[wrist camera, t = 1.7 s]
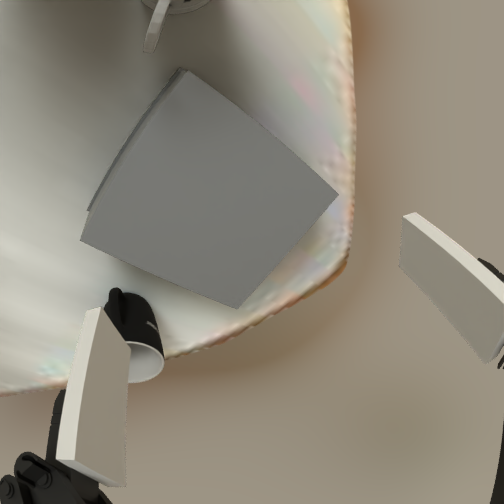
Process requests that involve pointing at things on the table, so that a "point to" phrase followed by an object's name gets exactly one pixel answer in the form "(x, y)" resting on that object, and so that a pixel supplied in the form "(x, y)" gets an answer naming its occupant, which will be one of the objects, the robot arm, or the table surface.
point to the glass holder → (163, 4)
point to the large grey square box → (204, 195)
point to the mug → (137, 333)
